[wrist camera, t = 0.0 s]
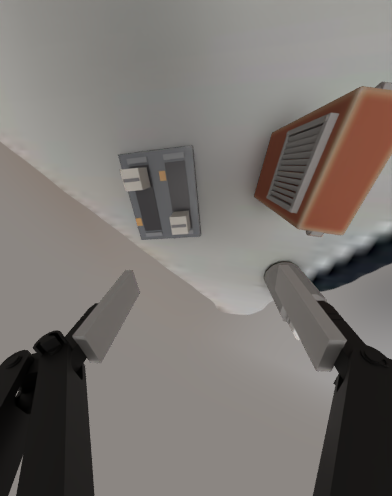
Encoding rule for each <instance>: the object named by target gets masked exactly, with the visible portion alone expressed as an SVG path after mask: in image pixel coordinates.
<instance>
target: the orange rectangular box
mask: <svg viewBox="0 0 392 496" xmlns="http://www.w3.org/2000/svg"><path fill="white" fill-rule="evenodd" d="M391 154H392V83H389V82H381V83H380V84H379V85H377V86H376V87H375V88H372V87H364V86H362V87H359V88H357V89H355V90H353V91H352V92H350V93H348V94H346V95H344V96H342V97H340V98H338V99H336V100H334V101H332V102H330V103H328V104H327V105H325V106H323V107H321V108H319V109H317V110H315V111H313V112H311V113H309V114H307V115H305V116H304V117H302V118H300V119H298V120H296V121H294V122H292V123H290V124H288V125H286V126H284V127H282V128H280V129H279V130H277V131H275V132H273V133H272V135H271V139H270V142H269V146H268V149H267V153H266V156H265V160H264V163H263V167H262V170H261V174H260V177H259V181H258V184H257V188H256V191H255V195H254V197H255V198H257V199H258V200H259V201H261V202H262V203H263V204H265V205H266V206H267V207H269V208H270V209H271V210H273V211H274V212H276V213H277V214H278V215H280V216H281V217H282V218H284V219H285V220H286V221H288V222H289V223H291V224H292V225H293V226H295V227H296V228H297V229H301V230H306V234H307V235H309V236H316V237H321V236H322V235H323V234H324V233H328V234H335V235H343V234H344V233H345V231H346V229H347V228H348V226H349V224H350V223H351V221H352V219H353V218H354V216H355V214H356V213H357V211H358V209H359V208H360V206H361V204H362V203H363V201H364V199H365V198H366V196H367V194H368V193H369V191H370V189H371V188H372V186H373V184H374V183H375V181H376V179H377V178H378V176H379V174H380V173H381V171H382V169H383V168H384V166H385V164H386V163H387V161H388V159H389V158H390V156H391Z"/></svg>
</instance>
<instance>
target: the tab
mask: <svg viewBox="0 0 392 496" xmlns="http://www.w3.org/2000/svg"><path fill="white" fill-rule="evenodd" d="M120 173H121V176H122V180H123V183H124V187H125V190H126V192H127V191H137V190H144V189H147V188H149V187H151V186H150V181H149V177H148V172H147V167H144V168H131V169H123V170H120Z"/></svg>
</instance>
